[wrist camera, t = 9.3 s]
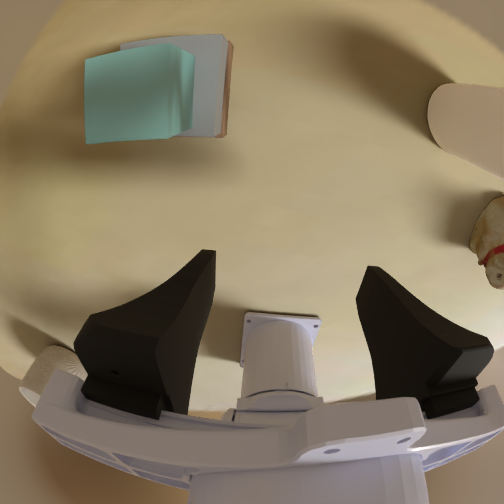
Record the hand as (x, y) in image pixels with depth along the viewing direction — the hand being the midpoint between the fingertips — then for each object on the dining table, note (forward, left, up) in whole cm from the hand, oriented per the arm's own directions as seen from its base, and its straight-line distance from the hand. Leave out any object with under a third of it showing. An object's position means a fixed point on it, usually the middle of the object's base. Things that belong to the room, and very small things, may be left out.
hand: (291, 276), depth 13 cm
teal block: (+8, +8, -6) cm, 13 cm away
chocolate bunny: (+1, -23, -11) cm, 25 cm away
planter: (-31, +31, -11) cm, 45 cm away
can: (+10, -14, -11) cm, 20 cm away
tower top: (+8, +8, -8) cm, 14 cm away
